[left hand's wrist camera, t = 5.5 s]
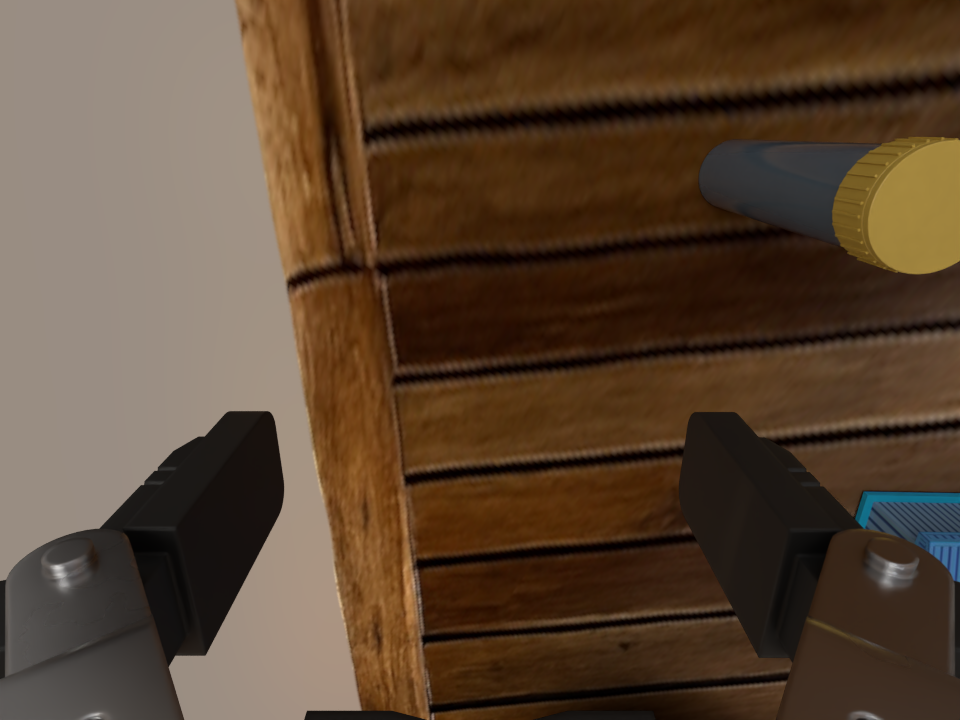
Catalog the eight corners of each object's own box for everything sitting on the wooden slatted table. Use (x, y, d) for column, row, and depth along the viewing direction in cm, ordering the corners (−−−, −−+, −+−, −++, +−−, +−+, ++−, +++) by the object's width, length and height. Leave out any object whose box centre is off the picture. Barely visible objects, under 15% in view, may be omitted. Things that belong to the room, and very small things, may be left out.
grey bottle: (745, 124, 36) (962, 118, 20) (777, 180, 37) (1005, 219, 21) (686, 168, 37) (846, 197, 21) (718, 222, 38) (893, 289, 22)
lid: (927, 109, 22) (977, 106, 19) (974, 214, 23) (1025, 222, 21) (808, 190, 23) (843, 197, 20) (860, 286, 24) (898, 301, 22)
